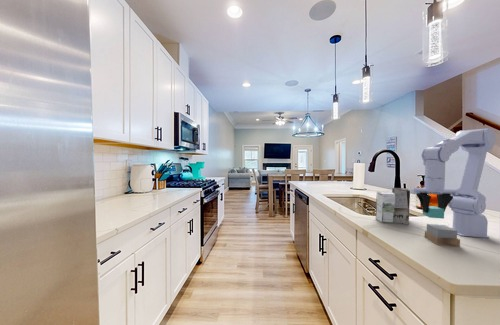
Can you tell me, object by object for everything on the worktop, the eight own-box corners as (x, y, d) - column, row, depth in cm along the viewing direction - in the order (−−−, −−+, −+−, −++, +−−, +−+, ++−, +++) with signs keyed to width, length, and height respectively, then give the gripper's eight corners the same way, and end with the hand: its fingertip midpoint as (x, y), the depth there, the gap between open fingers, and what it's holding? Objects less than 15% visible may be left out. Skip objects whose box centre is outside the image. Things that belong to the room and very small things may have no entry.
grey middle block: (444, 232, 78) (444, 225, 78) (456, 238, 72) (457, 230, 72) (426, 231, 79) (426, 223, 79) (437, 237, 73) (438, 229, 73)
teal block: (435, 215, 80) (436, 206, 80) (443, 218, 75) (444, 209, 75) (422, 214, 81) (423, 205, 81) (429, 217, 76) (430, 208, 76)
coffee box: (409, 224, 94) (410, 190, 94) (392, 222, 98) (393, 189, 97) (406, 219, 102) (407, 188, 102) (390, 217, 106) (391, 187, 105)
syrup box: (387, 219, 102) (388, 191, 102) (394, 223, 96) (395, 193, 96) (375, 219, 103) (376, 191, 102) (381, 222, 97) (382, 193, 96)
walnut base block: (445, 239, 78) (445, 232, 78) (459, 247, 72) (460, 239, 71) (424, 238, 80) (424, 230, 80) (436, 245, 73) (437, 237, 73)
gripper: (419, 178, 75) (417, 214, 76) (465, 179, 72) (464, 216, 72) (408, 176, 82) (407, 209, 83) (450, 177, 79) (449, 211, 79)
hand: (433, 212), depth 78 cm, fingers closed on teal block, 4 cm apart
